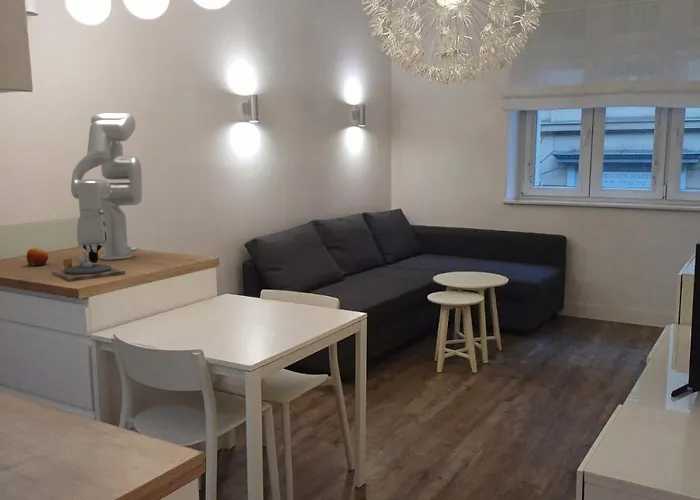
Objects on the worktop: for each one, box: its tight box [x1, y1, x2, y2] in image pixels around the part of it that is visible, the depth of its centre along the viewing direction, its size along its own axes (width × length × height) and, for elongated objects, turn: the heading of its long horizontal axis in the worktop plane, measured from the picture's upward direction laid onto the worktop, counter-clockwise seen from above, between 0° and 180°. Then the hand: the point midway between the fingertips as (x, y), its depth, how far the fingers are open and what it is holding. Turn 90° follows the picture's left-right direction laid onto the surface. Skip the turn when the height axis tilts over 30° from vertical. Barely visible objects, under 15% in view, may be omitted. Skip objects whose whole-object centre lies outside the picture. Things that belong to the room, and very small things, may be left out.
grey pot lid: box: [65, 251, 112, 275], centre depth 252 cm, size 16×16×6 cm
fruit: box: [26, 247, 49, 268], centre depth 273 cm, size 8×8×8 cm
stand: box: [51, 258, 127, 282], centre depth 252 cm, size 20×20×5 cm
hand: (93, 262), depth 258 cm, fingers closed
